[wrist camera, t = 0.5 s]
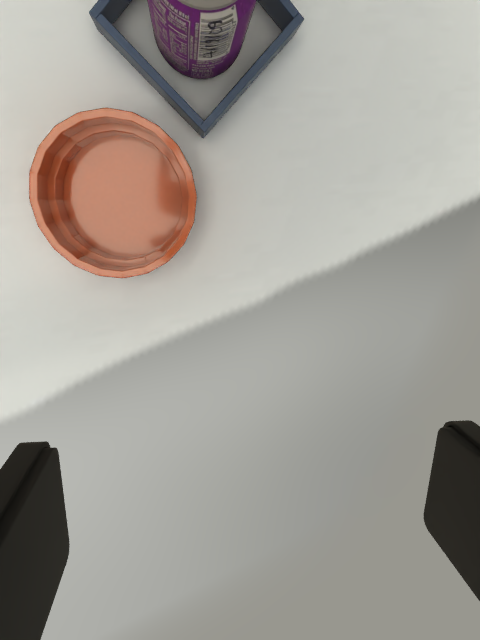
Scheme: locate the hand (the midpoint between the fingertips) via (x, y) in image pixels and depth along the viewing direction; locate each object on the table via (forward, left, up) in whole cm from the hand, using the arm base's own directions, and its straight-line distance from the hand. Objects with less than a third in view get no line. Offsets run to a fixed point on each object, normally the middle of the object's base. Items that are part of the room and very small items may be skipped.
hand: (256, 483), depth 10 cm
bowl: (0, -10, -30) cm, 31 cm away
